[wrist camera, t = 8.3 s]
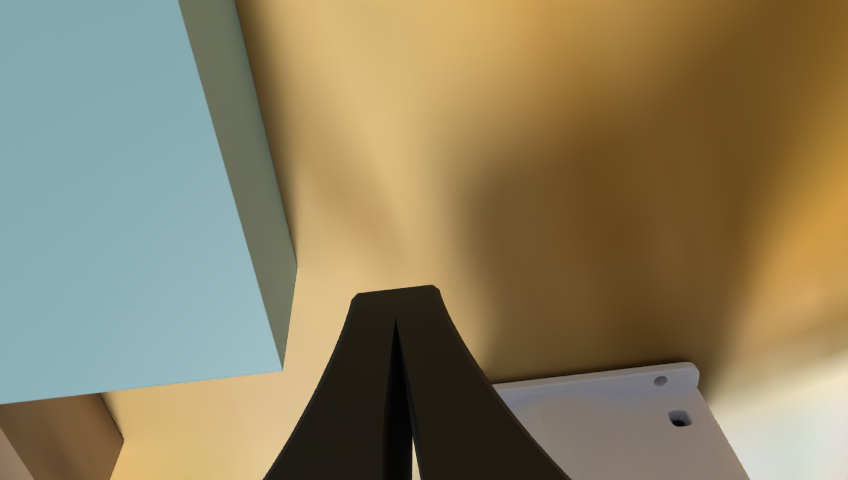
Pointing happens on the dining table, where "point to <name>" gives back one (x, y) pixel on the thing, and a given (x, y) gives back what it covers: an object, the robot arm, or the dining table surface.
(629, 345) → the dining table surface
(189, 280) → the block
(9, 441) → the board
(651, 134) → the dining table surface
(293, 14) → the dining table surface
